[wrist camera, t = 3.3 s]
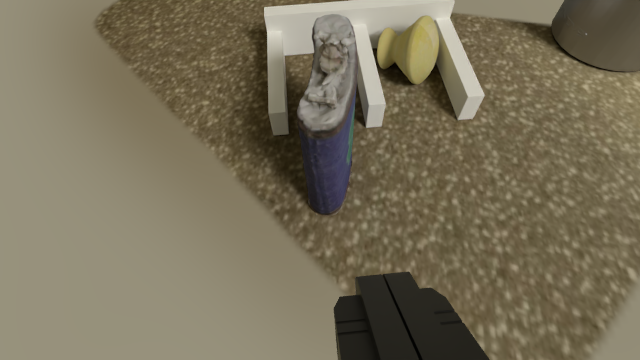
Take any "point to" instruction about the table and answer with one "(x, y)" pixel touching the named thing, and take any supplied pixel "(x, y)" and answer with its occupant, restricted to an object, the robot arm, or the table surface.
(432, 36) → the knob
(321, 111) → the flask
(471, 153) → the table surface
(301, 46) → the rack
